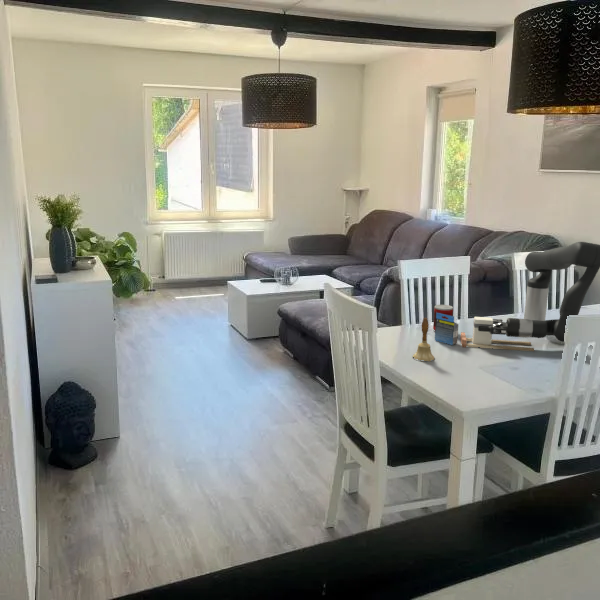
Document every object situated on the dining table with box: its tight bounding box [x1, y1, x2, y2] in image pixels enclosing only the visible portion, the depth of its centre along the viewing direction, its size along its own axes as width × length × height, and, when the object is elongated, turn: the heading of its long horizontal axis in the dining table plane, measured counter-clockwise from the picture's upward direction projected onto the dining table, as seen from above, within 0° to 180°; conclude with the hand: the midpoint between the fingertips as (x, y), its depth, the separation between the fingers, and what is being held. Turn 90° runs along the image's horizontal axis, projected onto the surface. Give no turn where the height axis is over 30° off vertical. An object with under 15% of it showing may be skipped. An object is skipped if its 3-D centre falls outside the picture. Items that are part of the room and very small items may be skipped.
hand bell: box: [412, 317, 435, 362], centre depth 228 cm, size 8×8×16 cm
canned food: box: [432, 304, 454, 331], centre depth 263 cm, size 8×8×11 cm
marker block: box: [471, 316, 494, 345], centre depth 245 cm, size 5×7×11 cm, turn 78°
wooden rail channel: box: [459, 331, 535, 352], centre depth 244 cm, size 11×28×3 cm, turn 79°
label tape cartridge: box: [434, 312, 459, 346], centre depth 247 cm, size 9×4×12 cm, turn 43°
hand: (477, 325), depth 244 cm, fingers open, 8 cm apart
